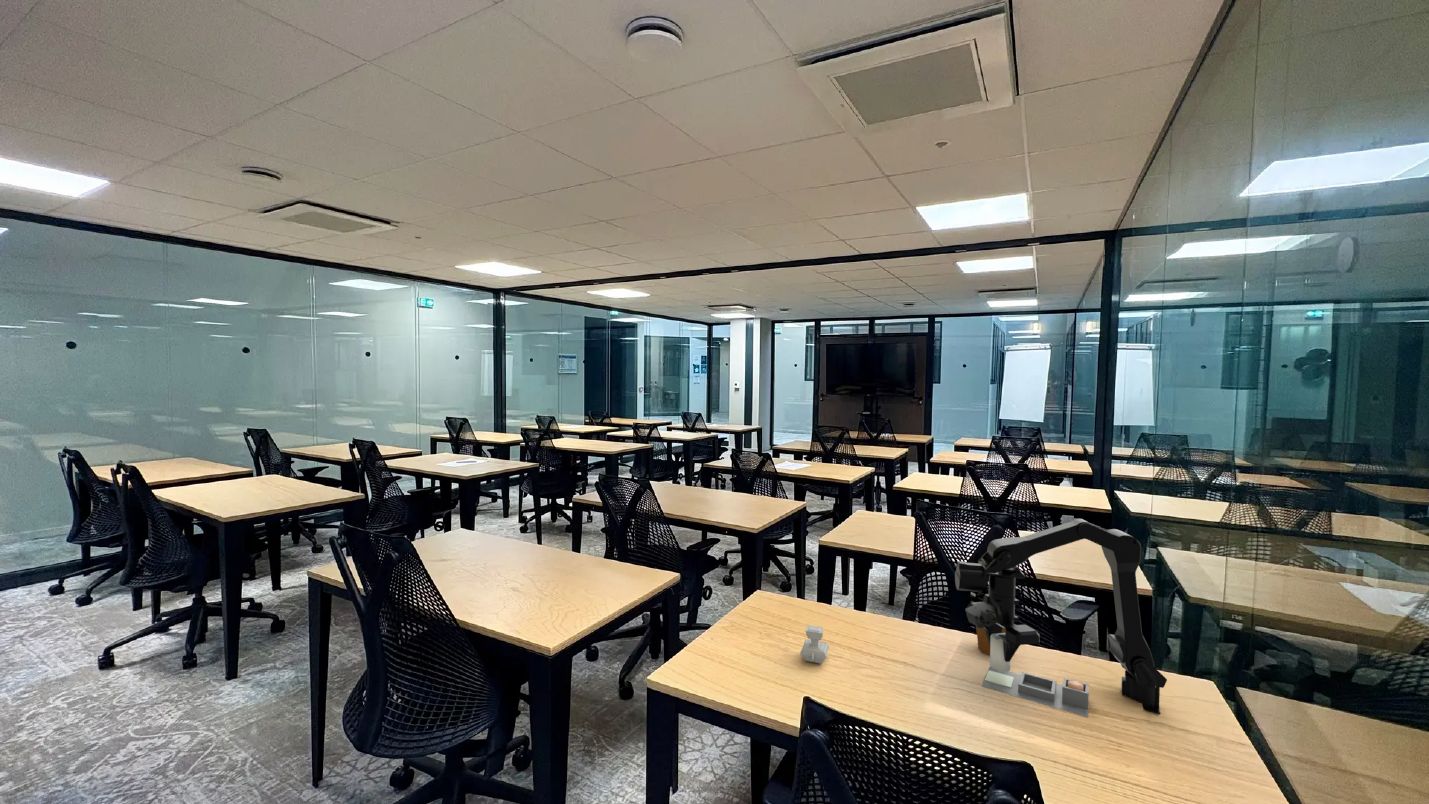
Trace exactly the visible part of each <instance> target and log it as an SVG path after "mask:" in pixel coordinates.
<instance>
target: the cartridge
mask: <svg viewBox="0 0 1429 804" xmlns="http://www.w3.org/2000/svg"><path fill="white" fill-rule="evenodd" d="M999 634H1005V633H997V634H991V639H990V655H989V667H990V666H991V667H992V668H993V669H996V670H998V671H1011V660H1010V661H1009V662H1006V661H1005V659H1004V647H1003V640H1002V639H1001V638H1000V637H999Z"/></svg>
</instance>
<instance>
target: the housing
mask: <svg viewBox="0 0 1429 804" xmlns="http://www.w3.org/2000/svg"><path fill="white" fill-rule="evenodd" d="M1062 679H1063V680H1062V685H1061V684H1057V680H1054V679H1051V678H1047V677H1043V676H1039V675H1035V674H1031V673H1028V672H1025V671H1021V673H1017V672H1013V671H1011V670H1009V671H998V670H996V669H993V668H992V667H991V666H990V665H989V666H988V669H987V672H986V674H985V677H984V679H983V682H982V684H981V687H982V688H985V689H988V690H989V689H990V690H993V691H997V692H1000V693H1004V694H1006V695H1010V696H1013V697H1016V698H1020V699H1024V700H1027V701H1030V702H1032V703H1037V704H1040V705H1043V706H1048V707H1050V708H1055V709H1057V710H1061V711H1065V712H1067V713H1072V714H1075V715H1078V716H1081V717H1086V718H1088V717H1089V704H1090V703H1089V698H1090V697H1089V696H1090V693H1089V692H1090V690H1089V689H1090V688H1089V687H1090V686H1089V685H1090V684H1088V683H1084V682H1082V681H1077V680H1074V679H1070V678H1066V677H1063V678H1062ZM1068 681H1076V682H1079V683H1081V684H1083V686H1084V690H1083V691H1080V690H1077V689H1073V688H1069V687H1068Z"/></svg>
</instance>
